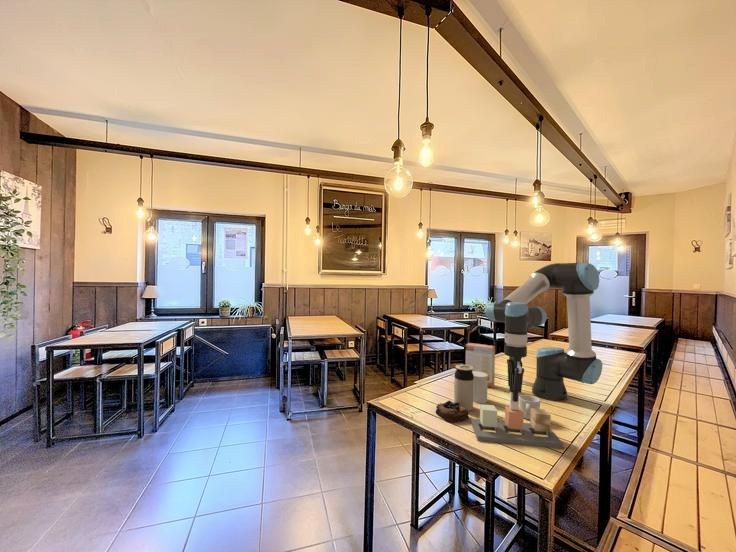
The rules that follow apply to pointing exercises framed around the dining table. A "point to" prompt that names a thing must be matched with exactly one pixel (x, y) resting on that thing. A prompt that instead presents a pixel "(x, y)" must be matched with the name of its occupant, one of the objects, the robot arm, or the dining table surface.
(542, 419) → the oak block
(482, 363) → the cracker box
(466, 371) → the travel mug
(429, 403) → the dining table surface
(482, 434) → the board
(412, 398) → the dining table surface
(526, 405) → the cup
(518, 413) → the terracotta block
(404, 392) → the dining table surface
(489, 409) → the sage block
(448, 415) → the pastry
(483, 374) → the white cylindrical canister
